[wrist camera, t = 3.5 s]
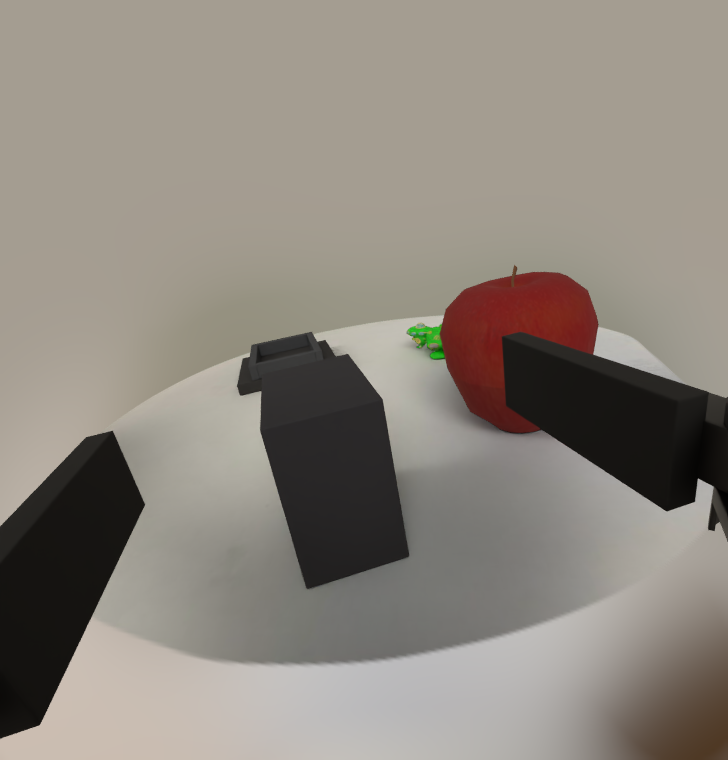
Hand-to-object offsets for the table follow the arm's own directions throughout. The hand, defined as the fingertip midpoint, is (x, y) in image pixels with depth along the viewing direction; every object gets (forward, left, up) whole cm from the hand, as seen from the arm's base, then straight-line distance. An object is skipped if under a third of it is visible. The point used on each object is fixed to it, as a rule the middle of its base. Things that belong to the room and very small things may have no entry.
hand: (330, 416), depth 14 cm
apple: (+7, +22, -12) cm, 26 cm away
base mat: (-25, +40, -12) cm, 49 cm away
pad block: (-5, +8, -12) cm, 16 cm away
